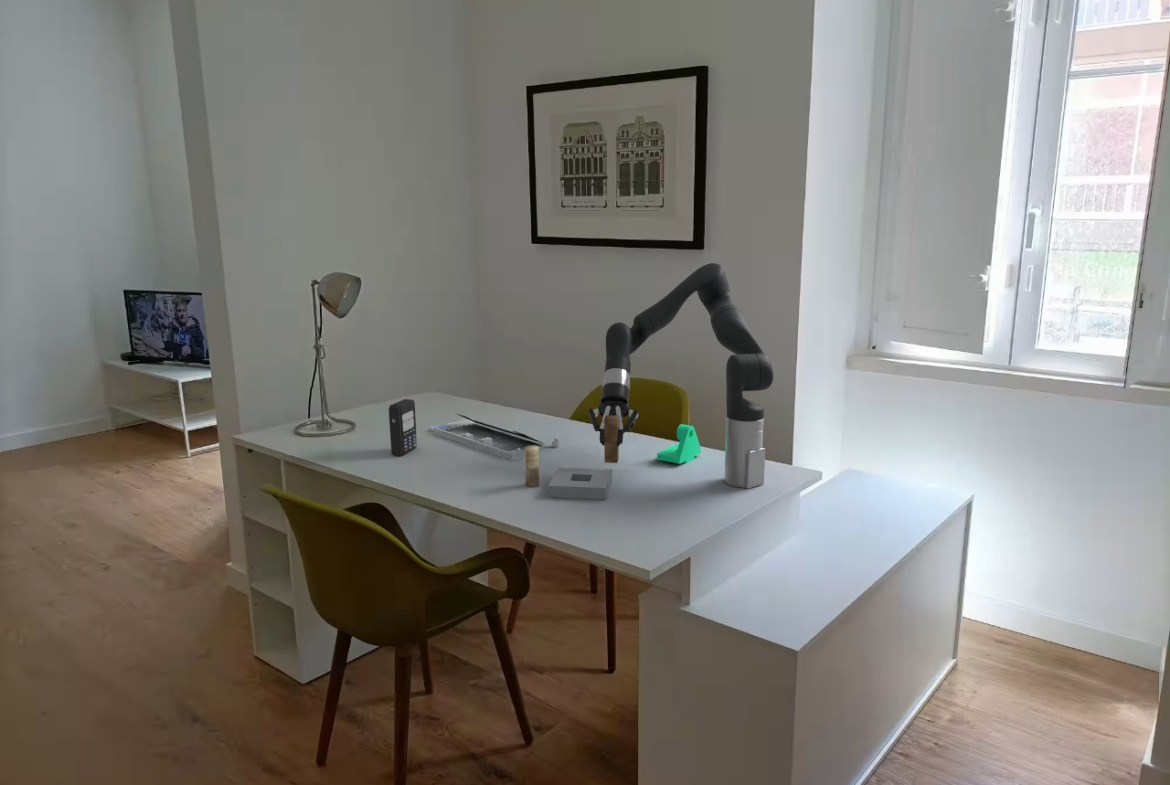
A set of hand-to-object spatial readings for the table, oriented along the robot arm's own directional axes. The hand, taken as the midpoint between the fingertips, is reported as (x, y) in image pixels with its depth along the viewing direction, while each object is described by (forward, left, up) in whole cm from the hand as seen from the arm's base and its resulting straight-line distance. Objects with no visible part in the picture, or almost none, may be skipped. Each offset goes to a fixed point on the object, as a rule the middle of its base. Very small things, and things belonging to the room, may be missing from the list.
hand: (610, 444), depth 217 cm
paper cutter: (+50, +8, -9) cm, 51 cm away
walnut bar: (+1, -1, -5) cm, 6 cm away
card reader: (+52, +35, -9) cm, 63 cm away
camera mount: (0, -24, -9) cm, 26 cm away
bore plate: (-4, +13, -9) cm, 16 cm away
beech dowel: (+6, +21, -9) cm, 23 cm away
